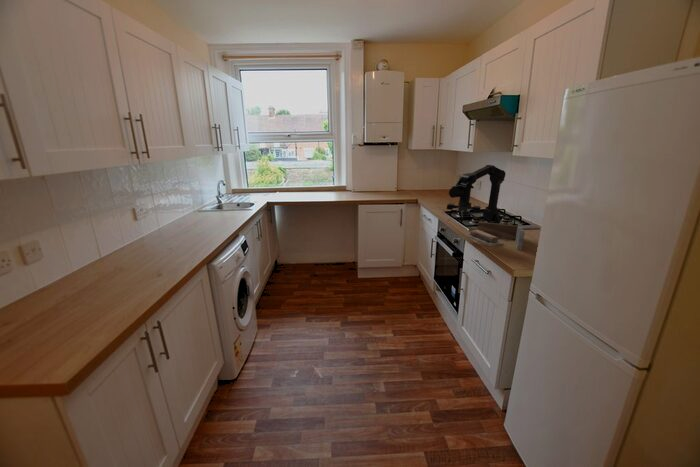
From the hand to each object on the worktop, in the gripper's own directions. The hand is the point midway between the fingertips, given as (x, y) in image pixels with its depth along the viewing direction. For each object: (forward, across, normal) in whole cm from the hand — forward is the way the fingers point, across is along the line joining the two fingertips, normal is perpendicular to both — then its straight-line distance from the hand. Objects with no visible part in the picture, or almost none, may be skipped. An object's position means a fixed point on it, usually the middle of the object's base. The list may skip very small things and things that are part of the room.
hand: (461, 221), depth 182 cm
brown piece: (+10, +21, +1) cm, 24 cm away
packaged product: (+11, +14, 0) cm, 18 cm away
